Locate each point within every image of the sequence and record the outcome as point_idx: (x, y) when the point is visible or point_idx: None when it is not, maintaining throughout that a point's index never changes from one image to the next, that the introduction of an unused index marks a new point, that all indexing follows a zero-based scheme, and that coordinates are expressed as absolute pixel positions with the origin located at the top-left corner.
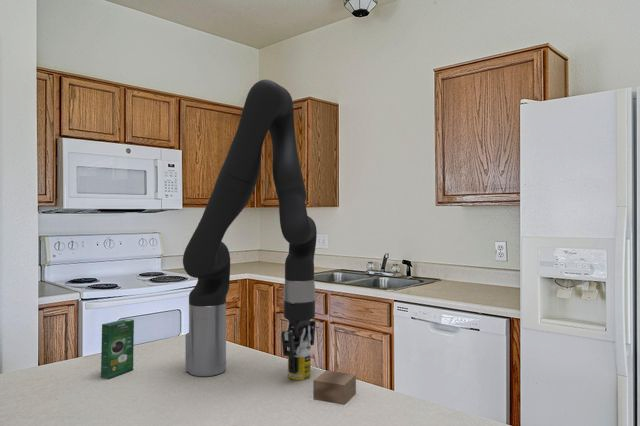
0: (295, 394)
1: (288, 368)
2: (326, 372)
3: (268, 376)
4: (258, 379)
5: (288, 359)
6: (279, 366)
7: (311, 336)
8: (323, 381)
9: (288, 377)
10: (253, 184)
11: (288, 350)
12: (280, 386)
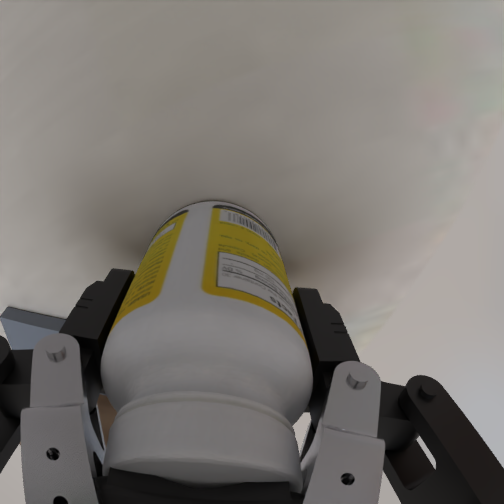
0: (58, 295)
1: (154, 250)
2: None
3: (238, 52)
4: (165, 20)
5: (140, 286)
6: (432, 73)
7: (399, 485)
8: (20, 442)
9: (164, 225)
10: None
11: (33, 381)
12: (102, 195)
